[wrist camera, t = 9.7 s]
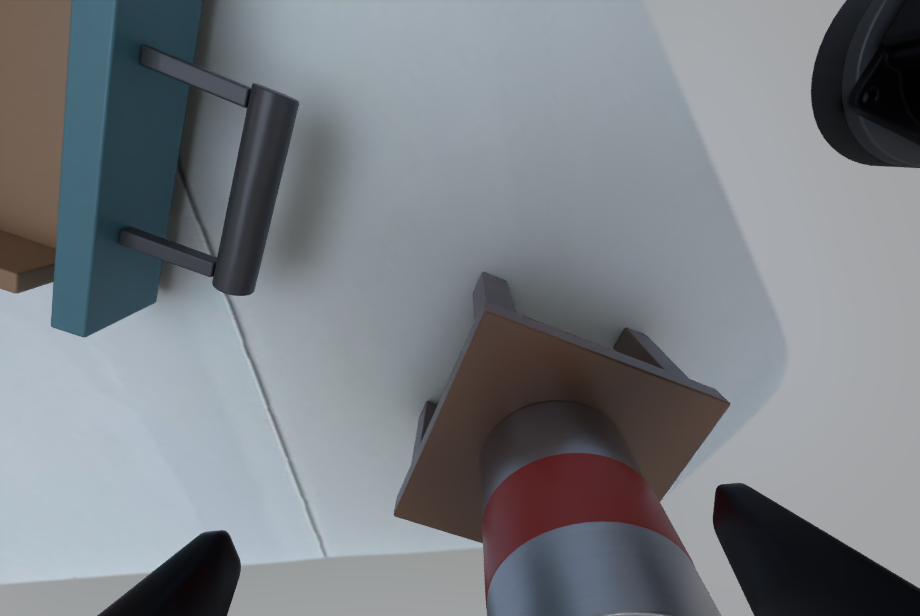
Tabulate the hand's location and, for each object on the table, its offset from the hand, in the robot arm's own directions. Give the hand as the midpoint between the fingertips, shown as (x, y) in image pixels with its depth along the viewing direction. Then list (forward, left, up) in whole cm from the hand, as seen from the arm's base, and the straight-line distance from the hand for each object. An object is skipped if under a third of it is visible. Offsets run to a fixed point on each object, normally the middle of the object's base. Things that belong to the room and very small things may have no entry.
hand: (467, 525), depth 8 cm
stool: (-4, +3, -12) cm, 13 cm away
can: (-4, +3, -6) cm, 8 cm away
